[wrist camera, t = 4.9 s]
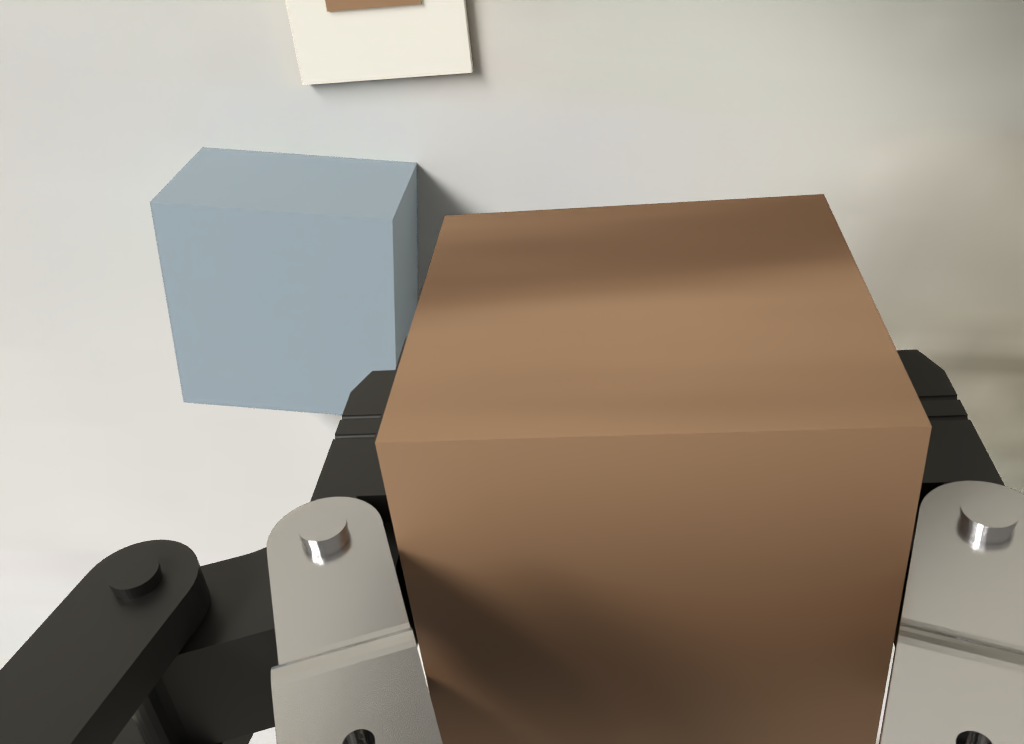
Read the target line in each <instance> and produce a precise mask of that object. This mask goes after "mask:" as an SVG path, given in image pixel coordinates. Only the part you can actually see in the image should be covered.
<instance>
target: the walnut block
mask: <svg viewBox="0 0 1024 744" xmlns="http://www.w3.org/2000/svg"><path fill="white" fill-rule="evenodd" d="M931 428H932V426H931V423H930V421H929V419H928V417H927V415H926V413H925V411H924V408H923V406H922V404H921V402H920V400H919V398H918V396H917V393H916V391H915V389H914V387H913V385H912V383H911V380H910V378H909V376H908V374H907V372H906V370H905V368H904V365H903V363H902V361H901V359H900V357H899V355H898V353H897V350H896V348H895V346H894V344H893V342H892V340H891V338H890V335H889V333H888V331H887V329H886V327H885V325H884V323H883V320H882V318H881V316H880V314H879V312H878V310H877V308H876V305H875V303H874V301H873V299H872V297H871V295H870V292H869V290H868V288H867V286H866V284H865V282H864V280H863V277H862V275H861V273H860V271H859V269H858V267H857V265H856V262H855V260H854V258H853V256H852V254H851V252H850V250H849V247H848V245H847V243H846V241H845V239H844V237H843V235H842V232H841V230H840V228H839V226H838V224H837V222H836V219H835V217H834V215H833V213H832V211H831V209H830V207H829V204H828V202H827V200H826V198H825V196H824V194H818V195H801V196H783V197H765V198H747V199H730V200H712V201H694V202H676V203H659V204H641V205H623V206H605V207H588V208H570V209H552V210H534V211H517V212H499V213H481V214H463V215H446V216H444V220H443V223H442V226H441V230H440V233H439V236H438V239H437V243H436V246H435V249H434V252H433V256H432V259H431V262H430V265H429V269H428V272H427V275H426V278H425V282H424V285H423V288H422V291H421V295H420V298H419V301H418V304H417V308H416V311H415V314H414V317H413V321H412V324H411V327H410V330H409V334H408V337H407V340H406V343H405V347H404V350H403V353H402V356H401V360H400V363H399V366H398V369H397V373H396V376H395V379H394V382H393V386H392V389H391V392H390V396H389V399H388V402H387V405H386V409H385V412H384V415H383V418H382V422H381V425H380V428H379V431H378V435H377V438H376V441H375V446H376V450H377V455H378V459H379V464H380V469H381V473H382V478H383V482H384V487H385V492H386V496H387V501H388V505H389V510H390V515H391V519H392V524H393V528H394V533H395V538H396V542H397V547H398V551H399V556H400V561H401V565H402V570H403V574H404V579H405V584H406V588H407V593H408V597H409V602H410V607H411V611H412V616H413V620H414V625H415V630H416V634H417V639H418V644H419V648H420V653H421V657H422V662H423V667H424V671H425V676H426V680H427V685H428V690H429V694H430V698H431V702H432V705H433V709H434V713H435V717H436V721H437V724H438V728H439V732H440V736H441V739H442V743H443V744H875V743H876V737H877V732H878V726H879V721H880V715H881V709H882V704H883V698H884V693H885V687H886V681H887V676H888V670H889V664H890V659H891V653H892V648H893V642H894V636H895V631H896V625H897V619H898V614H899V608H900V603H901V597H902V591H903V586H904V580H905V575H906V569H907V563H908V558H909V552H910V546H911V541H912V535H913V530H914V524H915V518H916V513H917V507H918V501H919V496H920V490H921V485H922V479H923V473H924V468H925V462H926V456H927V451H928V445H929V440H930V434H931Z"/></svg>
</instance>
